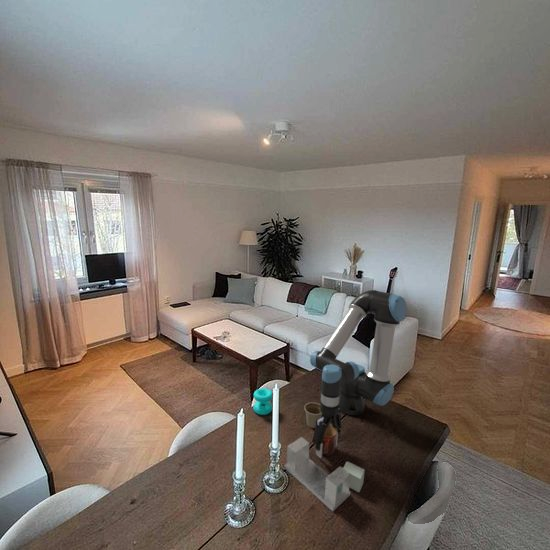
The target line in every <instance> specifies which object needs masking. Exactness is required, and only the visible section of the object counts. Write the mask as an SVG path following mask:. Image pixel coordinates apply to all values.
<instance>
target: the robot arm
mask: <svg viewBox="0 0 550 550" xmlns="http://www.w3.org/2000/svg"><path fill="white" fill-rule="evenodd" d="M407 311H408V307H407V301H406V300H405V298H404V297H402V296H401V295H397V294H395V293H389V292H384V291H380V290H376V289H375V290H374V289H370V290H369V289H368V290H366V291H364V292H362V293H359V294H358V295H357V296H356V297H355V298H354V299H353V300H352V301H351V302H350V303H349V305H348V311H347V312H346V313H345V315H344V316H343V318H342V319H341V320H340V322H339V323H338V324H337V326H336V328H335V330H334V331H333V332H332V334H331V335H330V337H329V338H328V340H327V341H326V342H325V344H324V346H323V347H322V349H321V350H315V351H313V352H312V353H311V355H310V356H309V357H310V358H309V362H310V365H311V366H312V367H314V368H315V369H316V370H319V371H321V372H322V374H321V391H320V403H319V404H320V410H321V413H322V416H321V419H319V420H318V419H316V426H315V428H314V433H313V436H312V439H311V440H312V441H311V442H312V443H314V444H315V455H316V456H317V457H319V458H320V459H322V457H323V454H322V447H323V443H322V440H323V437H324V434H325V431H326V429H327V428H328V426H329V424H332V426H333V427H334V428H336V429H337V430H338V433H337V435H336V438H335V447H337V446H338V437H339V433H341V432H342V431H341V429H342V427H343V424H342V414H343V415H348V416H360V415H362V414H363V413H364V412H365V407H366V405H365V402H364V399H365V400H367V401H370V402H372V403H373V404H376V405H378V406H381V407H382V406H385V405H387V404H388V403H389V401H390V400H391V399H392V397H393V394H394V390H395V387H394V384H393V383H391V380H392V379H391V376H390V375H389V370H390V369H389V368H390V363H391V362H390V361H391V358H392V357H391V355H392V350H393V344H394V338H395V331H396V327H397V326H399V325H400V322H403V321H404V320H405V318H406V316H407ZM368 314H372V315H373V317H374V318H373V321H374V322H375V323H376V326H375V331H374V339H373V345H372V349H371V350H372V351H371V359H370V364H369V369H368V370H367V371H366V372H365V370H366V368H365V367H364V366H363V365H361V364H357V363H356V362H354V361H346V362H345V361H342V360H339V359H337V358H338V356H339V355H340V353H341V351H342V350H343V348H344V347H345V345H346V344H347V342H348V341H349V339H350V337H351V336H352V334H353V333H354V331H355V330H356V329H357V326H359V324H360V323H361V320H362V319H365V318H366V317H367V315H368ZM323 423H324V424H323ZM325 424H326V425H325Z"/></svg>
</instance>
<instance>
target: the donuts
mask: <svg viewBox="0 0 550 550" xmlns="http://www.w3.org/2000/svg"><path fill="white" fill-rule="evenodd" d="M272 393H273V391H271V389H268V388H264V387H262V388H258V389H256V390H255V391H254V393H253V398H254V401H255V400H256V402H255V403H254V404H253V406H252V407H253V411H254V413H256V414H257V415H261V416H265V415H268V414H270V413H271V412H272V411H273V409H272V407H273V404H272V403H271V400H272V399H273V398H272Z"/></svg>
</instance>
